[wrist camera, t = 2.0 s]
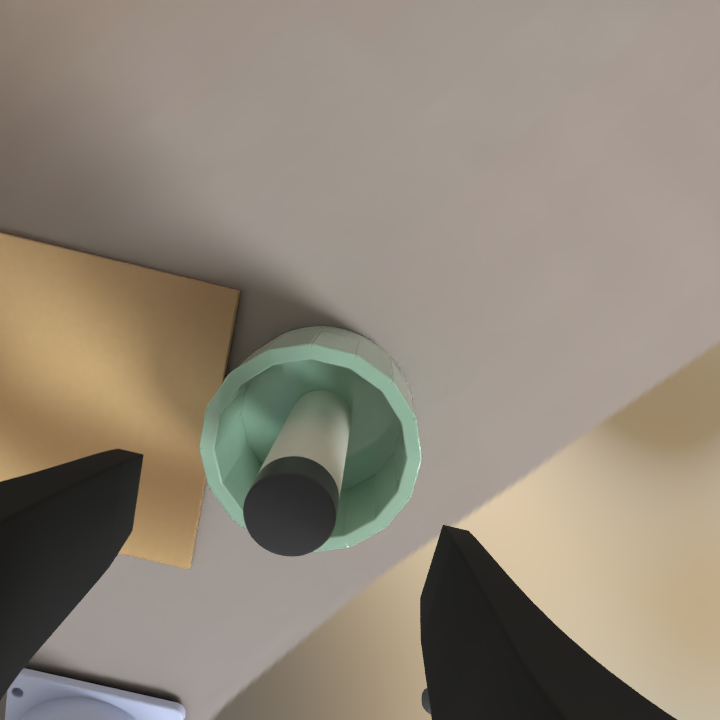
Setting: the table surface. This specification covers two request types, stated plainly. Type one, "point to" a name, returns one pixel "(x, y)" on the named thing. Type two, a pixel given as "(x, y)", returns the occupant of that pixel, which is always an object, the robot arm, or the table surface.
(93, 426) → the cork mat
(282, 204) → the table surface
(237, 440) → the pen pot
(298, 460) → the marker
